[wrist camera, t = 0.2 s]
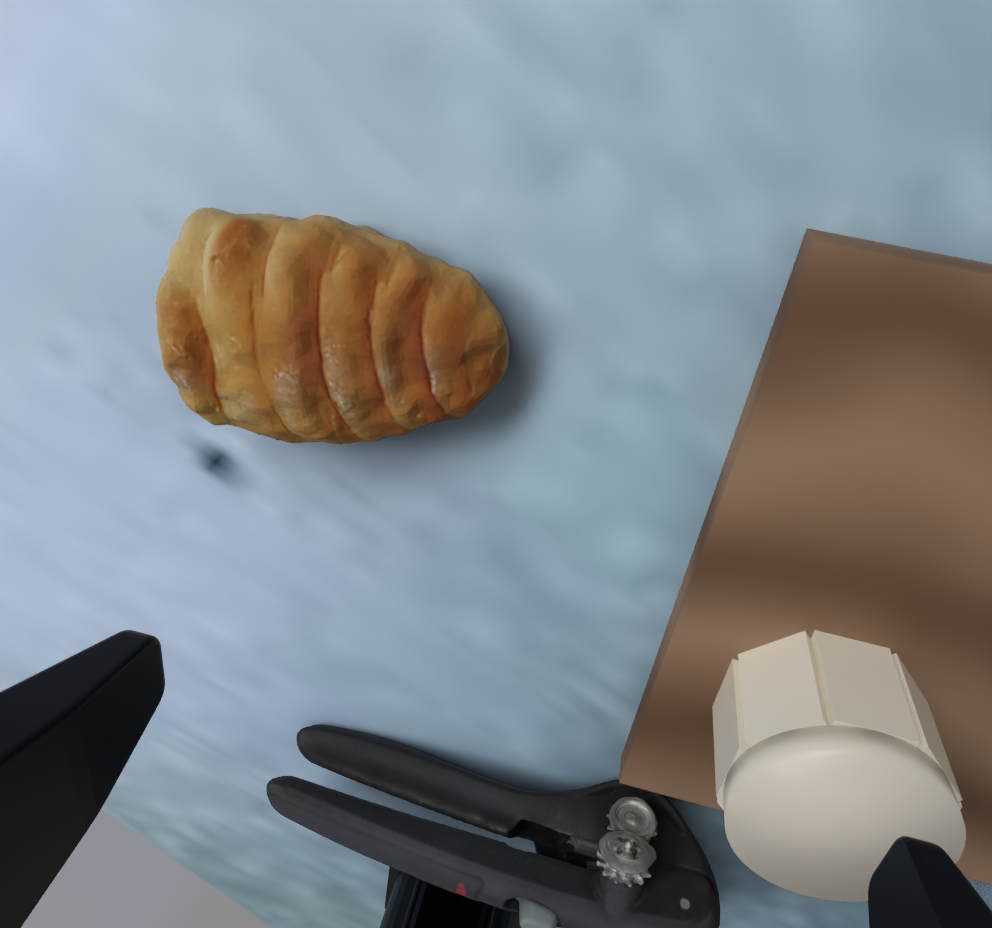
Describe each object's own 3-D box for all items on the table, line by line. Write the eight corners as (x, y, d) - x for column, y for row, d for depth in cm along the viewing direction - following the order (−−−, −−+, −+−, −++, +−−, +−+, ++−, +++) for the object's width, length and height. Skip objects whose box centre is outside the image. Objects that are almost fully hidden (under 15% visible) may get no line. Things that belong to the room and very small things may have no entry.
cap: (874, 791, 26) (907, 924, 22) (696, 743, 26) (698, 865, 23) (955, 664, 23) (1010, 795, 19) (751, 614, 23) (764, 730, 20)
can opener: (743, 781, 29) (755, 932, 24) (694, 885, 32) (696, 1034, 28) (297, 664, 31) (227, 782, 26) (298, 775, 34) (236, 896, 30)
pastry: (515, 210, 20) (483, 247, 17) (515, 436, 24) (488, 502, 20) (192, 198, 22) (108, 230, 19) (236, 410, 25) (170, 468, 22)
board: (1004, 860, 28) (1016, 891, 27) (621, 756, 29) (619, 782, 28) (1433, 350, 17) (1480, 370, 16) (806, 228, 19) (814, 240, 18)
